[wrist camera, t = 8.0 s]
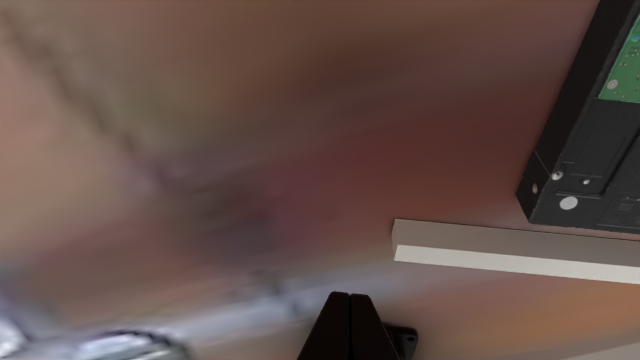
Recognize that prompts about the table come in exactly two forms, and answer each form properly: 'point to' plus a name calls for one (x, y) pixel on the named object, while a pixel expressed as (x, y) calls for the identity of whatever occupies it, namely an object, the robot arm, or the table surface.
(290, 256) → the table surface
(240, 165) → the table surface
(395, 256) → the dock
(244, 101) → the table surface
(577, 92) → the disk drive
